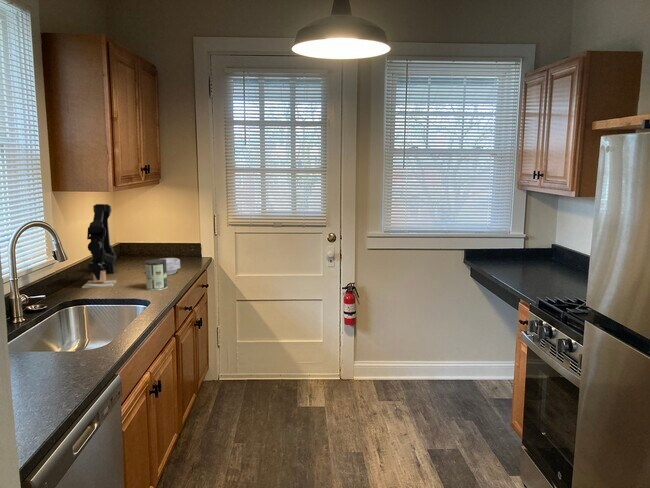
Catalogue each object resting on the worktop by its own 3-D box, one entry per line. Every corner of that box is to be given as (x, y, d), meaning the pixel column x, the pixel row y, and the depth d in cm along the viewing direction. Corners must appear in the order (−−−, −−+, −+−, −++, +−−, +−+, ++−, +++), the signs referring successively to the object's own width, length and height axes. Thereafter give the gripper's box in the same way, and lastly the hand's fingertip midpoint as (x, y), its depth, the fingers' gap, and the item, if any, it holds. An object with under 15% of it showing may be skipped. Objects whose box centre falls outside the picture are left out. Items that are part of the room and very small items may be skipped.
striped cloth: (89, 281, 274) (89, 280, 274) (117, 280, 277) (117, 279, 277) (82, 288, 261) (81, 286, 261) (111, 287, 263) (111, 285, 263)
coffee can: (158, 284, 269) (157, 258, 266) (172, 287, 263) (170, 260, 261) (141, 288, 260) (140, 261, 258) (155, 291, 255) (153, 263, 252)
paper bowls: (163, 269, 304) (163, 256, 303) (185, 271, 299) (185, 258, 298) (146, 275, 290) (146, 261, 289) (169, 277, 285) (169, 263, 284)
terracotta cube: (96, 279, 270) (95, 270, 270) (106, 279, 271) (105, 270, 271) (93, 282, 266) (93, 272, 265) (104, 281, 267) (103, 272, 266)
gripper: (110, 252, 258) (112, 282, 261) (118, 245, 276) (119, 274, 279) (86, 252, 256) (88, 283, 259) (95, 246, 274) (97, 275, 277)
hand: (99, 278), depth 268 cm, fingers closed on terracotta cube, 5 cm apart
